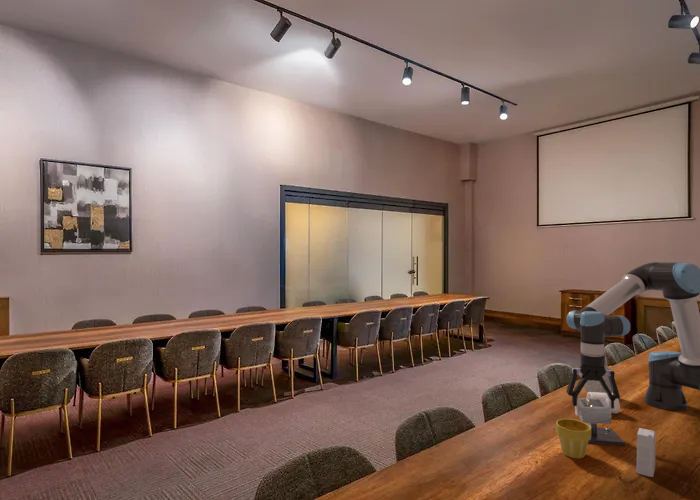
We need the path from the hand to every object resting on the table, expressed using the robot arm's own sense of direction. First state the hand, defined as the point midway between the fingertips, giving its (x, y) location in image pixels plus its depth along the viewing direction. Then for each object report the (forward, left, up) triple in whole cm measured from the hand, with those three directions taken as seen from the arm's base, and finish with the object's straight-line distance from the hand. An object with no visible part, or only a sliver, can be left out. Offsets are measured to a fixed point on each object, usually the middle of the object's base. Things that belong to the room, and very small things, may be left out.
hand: (592, 416), depth 152 cm
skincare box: (-7, +24, -8) cm, 26 cm away
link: (0, -1, -1) cm, 1 cm away
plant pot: (+11, +16, -8) cm, 21 cm away
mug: (-12, -29, -8) cm, 32 cm away
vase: (-17, -47, -8) cm, 51 cm away
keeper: (0, 0, -7) cm, 7 cm away
